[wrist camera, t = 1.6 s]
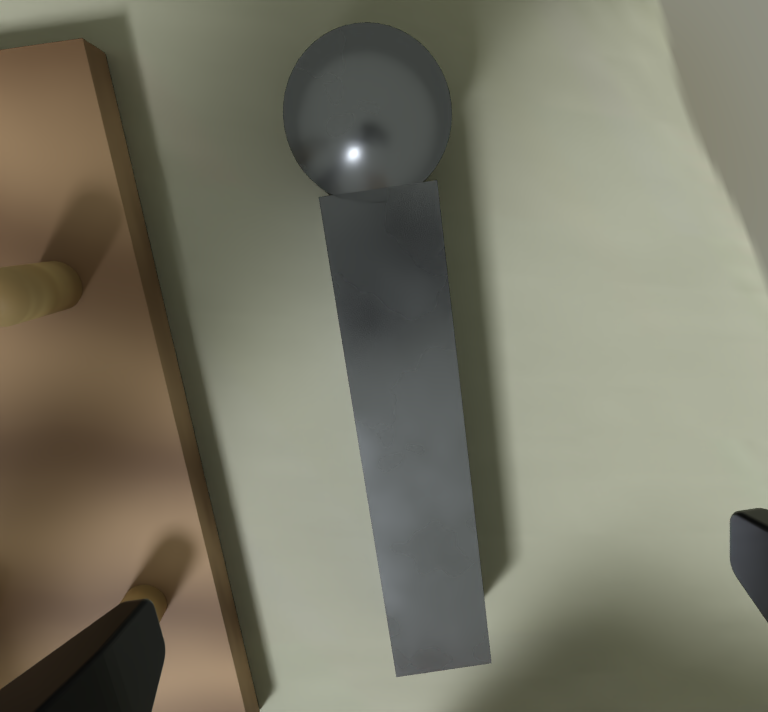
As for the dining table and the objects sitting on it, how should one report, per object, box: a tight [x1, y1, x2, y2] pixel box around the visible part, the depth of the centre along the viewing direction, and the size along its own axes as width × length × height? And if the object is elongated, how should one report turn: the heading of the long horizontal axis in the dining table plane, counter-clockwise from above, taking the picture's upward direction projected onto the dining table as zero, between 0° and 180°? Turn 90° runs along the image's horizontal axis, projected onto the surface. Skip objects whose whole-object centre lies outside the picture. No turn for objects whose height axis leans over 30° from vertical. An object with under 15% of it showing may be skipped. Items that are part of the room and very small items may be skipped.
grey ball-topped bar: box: [283, 22, 491, 677], centre depth 19 cm, size 21×5×3 cm, turn 8°
